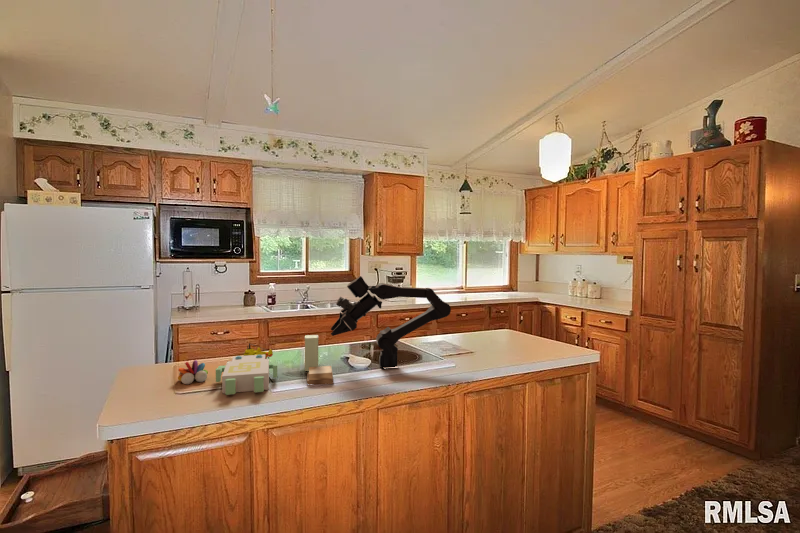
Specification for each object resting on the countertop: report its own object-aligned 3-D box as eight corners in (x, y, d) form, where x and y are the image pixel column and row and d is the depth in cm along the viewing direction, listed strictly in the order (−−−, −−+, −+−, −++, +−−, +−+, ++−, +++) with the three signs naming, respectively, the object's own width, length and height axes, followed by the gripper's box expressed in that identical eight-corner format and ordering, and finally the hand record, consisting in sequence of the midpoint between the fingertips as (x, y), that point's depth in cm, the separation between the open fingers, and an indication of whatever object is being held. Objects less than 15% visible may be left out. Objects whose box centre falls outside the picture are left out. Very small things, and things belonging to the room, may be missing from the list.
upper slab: (331, 371, 159) (331, 365, 159) (332, 378, 152) (332, 372, 151) (308, 373, 158) (308, 367, 158) (308, 380, 150) (308, 374, 150)
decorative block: (220, 355, 159) (277, 351, 165) (221, 372, 160) (277, 368, 166) (210, 379, 135) (277, 374, 140) (211, 399, 135) (277, 393, 141)
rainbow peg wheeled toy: (175, 380, 154) (175, 360, 153) (205, 375, 159) (204, 355, 159) (180, 387, 147) (179, 365, 146) (210, 381, 152) (210, 361, 152)
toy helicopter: (274, 363, 175) (274, 338, 175) (240, 375, 159) (240, 348, 158) (261, 361, 178) (261, 337, 177) (227, 373, 162) (227, 346, 161)
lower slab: (332, 377, 160) (332, 371, 160) (333, 385, 151) (333, 379, 151) (307, 378, 158) (307, 372, 158) (307, 387, 149) (306, 380, 149)
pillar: (318, 367, 170) (318, 334, 169) (318, 371, 165) (318, 337, 164) (305, 368, 169) (305, 335, 168) (304, 372, 164) (304, 338, 163)
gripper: (348, 287, 176) (318, 312, 175) (351, 293, 158) (317, 321, 157) (365, 308, 178) (335, 333, 177) (370, 317, 160) (336, 344, 158)
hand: (331, 332), depth 167 cm, fingers open, 9 cm apart
